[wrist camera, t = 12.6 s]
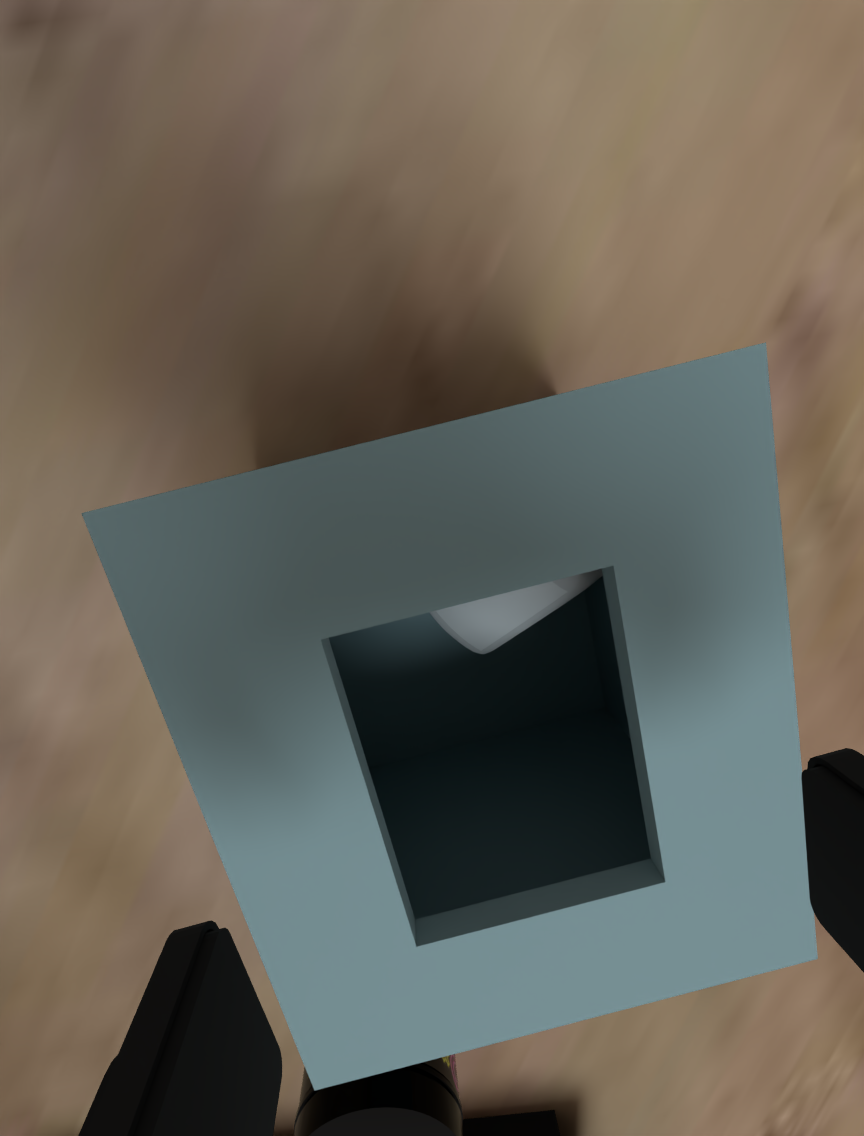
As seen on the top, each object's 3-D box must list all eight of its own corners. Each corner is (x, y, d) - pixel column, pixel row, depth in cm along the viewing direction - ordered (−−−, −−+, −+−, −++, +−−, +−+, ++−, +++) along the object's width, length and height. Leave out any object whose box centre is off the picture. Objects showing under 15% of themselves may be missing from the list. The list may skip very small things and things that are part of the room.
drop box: (256, 471, 24) (82, 513, 11) (558, 396, 24) (765, 342, 11) (352, 775, 28) (314, 1090, 15) (613, 709, 28) (817, 958, 15)
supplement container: (380, 998, 32) (374, 1260, 22) (297, 932, 30) (248, 1180, 20) (467, 930, 31) (503, 1167, 21) (386, 858, 29) (382, 1077, 19)
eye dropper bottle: (421, 661, 22) (613, 509, 12) (400, 539, 24) (548, 325, 14) (513, 654, 24) (744, 517, 14) (485, 541, 26) (669, 353, 16)
